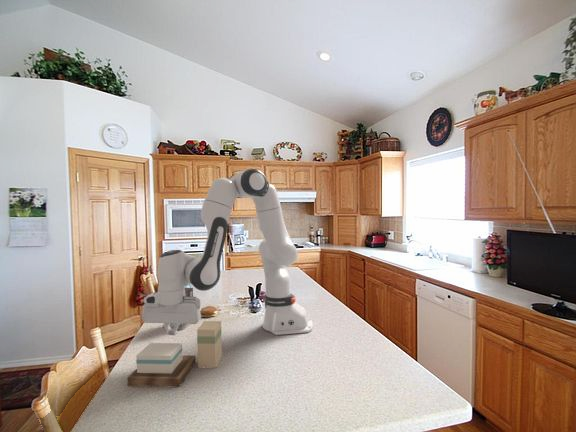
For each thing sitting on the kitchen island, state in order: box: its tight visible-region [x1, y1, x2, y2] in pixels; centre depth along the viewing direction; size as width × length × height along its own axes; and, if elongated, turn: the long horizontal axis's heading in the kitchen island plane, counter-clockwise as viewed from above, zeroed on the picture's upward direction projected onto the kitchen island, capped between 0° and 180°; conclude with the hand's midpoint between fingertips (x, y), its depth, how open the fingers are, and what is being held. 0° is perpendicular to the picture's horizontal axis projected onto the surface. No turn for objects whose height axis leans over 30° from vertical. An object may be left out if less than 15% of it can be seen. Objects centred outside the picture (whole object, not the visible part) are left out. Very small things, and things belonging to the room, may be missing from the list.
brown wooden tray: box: [127, 354, 197, 387], centre depth 91 cm, size 16×13×2 cm
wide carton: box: [135, 342, 183, 373], centre depth 91 cm, size 11×8×6 cm
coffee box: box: [170, 287, 194, 330], centre depth 128 cm, size 9×6×16 cm
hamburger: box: [200, 305, 222, 318], centre depth 142 cm, size 14×14×6 cm
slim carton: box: [196, 320, 223, 369], centre depth 97 cm, size 6×7×13 cm
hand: (172, 334), depth 100 cm, fingers closed
